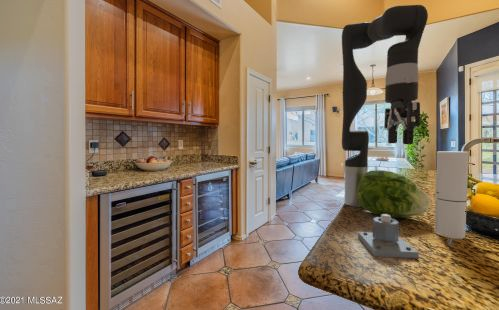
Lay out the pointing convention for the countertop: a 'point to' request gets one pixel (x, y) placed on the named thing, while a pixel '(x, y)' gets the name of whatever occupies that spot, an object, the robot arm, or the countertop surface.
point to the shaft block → (387, 244)
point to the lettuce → (391, 195)
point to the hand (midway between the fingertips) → (399, 143)
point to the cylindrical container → (451, 194)
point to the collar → (385, 230)
